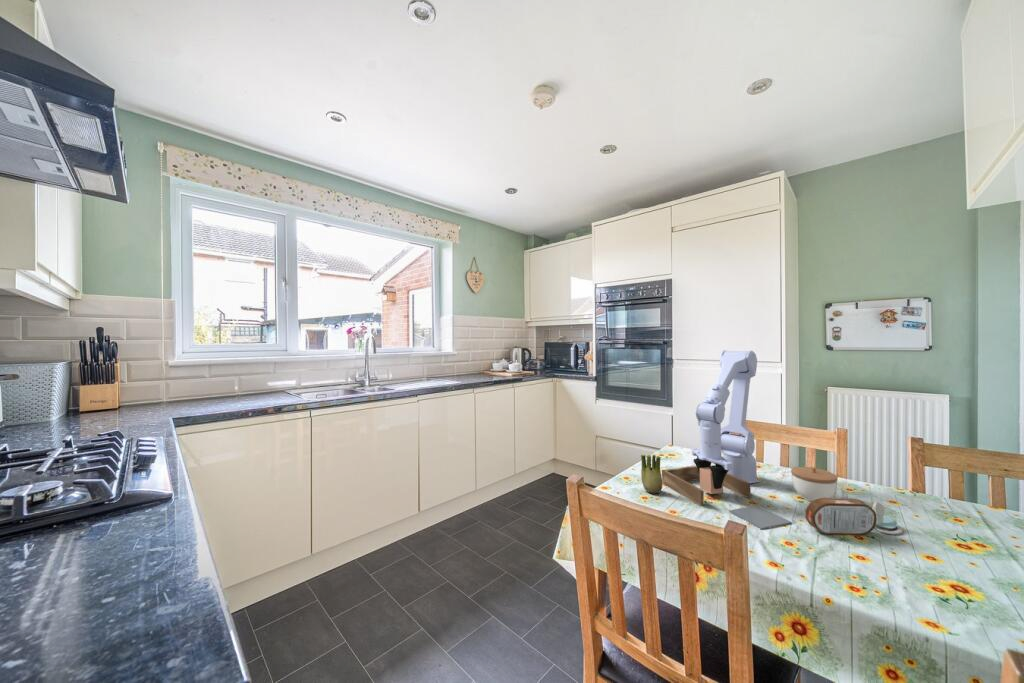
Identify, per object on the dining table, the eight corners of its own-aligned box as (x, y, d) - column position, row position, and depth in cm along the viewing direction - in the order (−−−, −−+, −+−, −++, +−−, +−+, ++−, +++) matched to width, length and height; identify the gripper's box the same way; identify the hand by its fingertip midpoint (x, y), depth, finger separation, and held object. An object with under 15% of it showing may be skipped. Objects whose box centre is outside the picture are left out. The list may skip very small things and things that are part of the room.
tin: (868, 530, 92) (868, 497, 92) (880, 537, 89) (879, 503, 89) (804, 529, 94) (803, 496, 94) (813, 536, 91) (812, 502, 90)
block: (711, 486, 118) (711, 466, 118) (723, 492, 113) (722, 471, 113) (700, 488, 117) (699, 468, 116) (710, 494, 112) (710, 473, 112)
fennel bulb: (639, 490, 119) (639, 453, 119) (650, 486, 122) (649, 450, 122) (655, 496, 114) (654, 458, 114) (665, 493, 117) (664, 455, 117)
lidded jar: (846, 502, 107) (846, 470, 107) (822, 509, 103) (822, 476, 103) (806, 488, 117) (805, 459, 117) (783, 494, 113) (782, 464, 113)
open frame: (706, 476, 129) (706, 464, 129) (750, 497, 112) (750, 483, 112) (662, 483, 124) (661, 470, 124) (700, 506, 107) (700, 491, 107)
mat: (757, 506, 106) (757, 505, 106) (791, 523, 96) (791, 522, 96) (729, 511, 104) (729, 510, 104) (761, 529, 94) (761, 528, 94)
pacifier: (909, 533, 91) (878, 520, 97) (909, 508, 91) (879, 497, 96) (890, 538, 89) (860, 526, 94) (891, 513, 88) (861, 502, 94)
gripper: (683, 436, 121) (684, 477, 121) (718, 449, 107) (719, 496, 107) (701, 434, 122) (702, 475, 123) (738, 447, 108) (739, 493, 109)
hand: (711, 485), depth 115 cm, fingers closed on block, 4 cm apart
